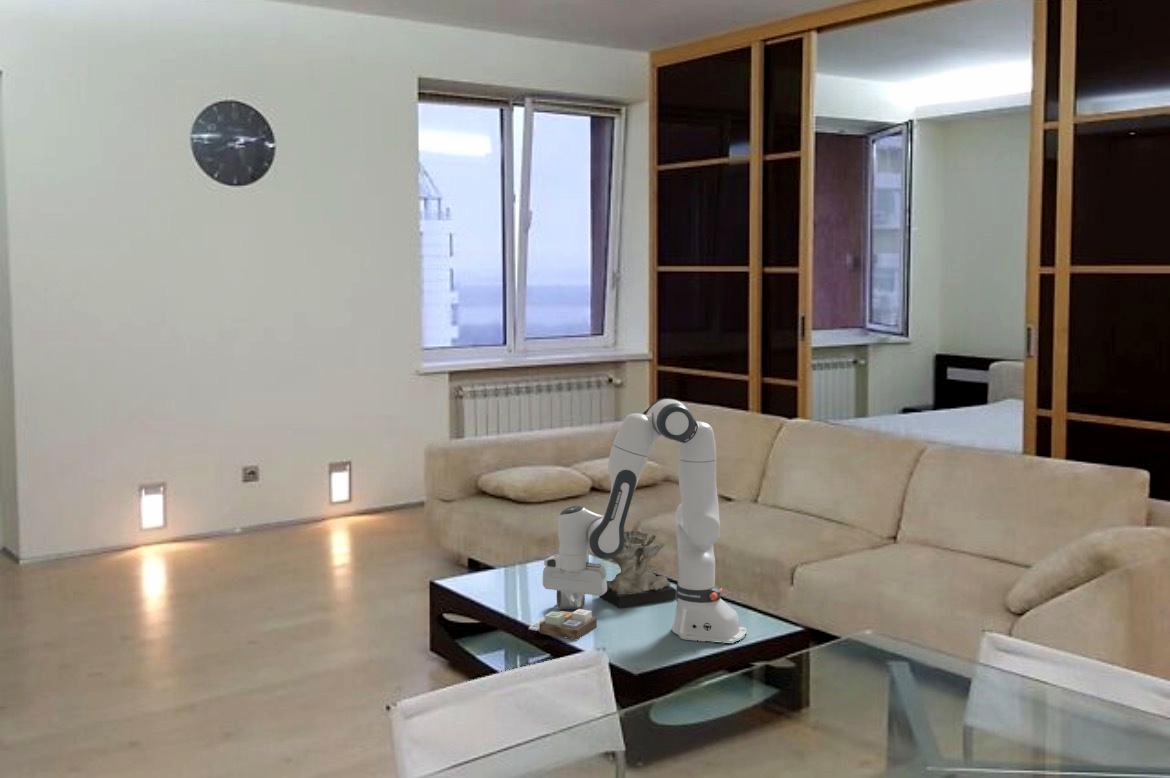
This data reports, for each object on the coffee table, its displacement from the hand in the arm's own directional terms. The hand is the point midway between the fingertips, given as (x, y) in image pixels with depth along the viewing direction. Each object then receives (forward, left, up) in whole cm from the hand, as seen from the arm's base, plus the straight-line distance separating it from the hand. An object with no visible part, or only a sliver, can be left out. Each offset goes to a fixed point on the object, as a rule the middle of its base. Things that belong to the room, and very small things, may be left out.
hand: (575, 606), depth 345 cm
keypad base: (+4, -2, -9) cm, 10 cm away
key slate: (+1, +1, -9) cm, 9 cm away
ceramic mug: (+14, -22, -9) cm, 28 cm away
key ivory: (+1, -5, -7) cm, 9 cm away
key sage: (+7, +1, -7) cm, 10 cm away
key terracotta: (+7, -5, -9) cm, 12 cm away
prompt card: (+13, -2, -9) cm, 16 cm away
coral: (+2, -41, -9) cm, 43 cm away
